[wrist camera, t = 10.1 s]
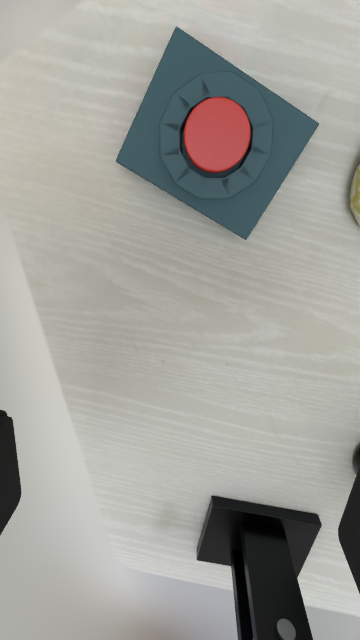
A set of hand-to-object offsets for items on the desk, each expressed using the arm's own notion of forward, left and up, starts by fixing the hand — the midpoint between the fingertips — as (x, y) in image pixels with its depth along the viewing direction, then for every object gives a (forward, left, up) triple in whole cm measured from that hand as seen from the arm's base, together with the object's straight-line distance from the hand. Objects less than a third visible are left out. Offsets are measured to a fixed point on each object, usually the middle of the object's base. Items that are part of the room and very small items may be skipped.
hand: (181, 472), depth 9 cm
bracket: (+19, -20, -19) cm, 33 cm away
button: (-4, +9, -15) cm, 18 cm away
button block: (-4, +9, -19) cm, 21 cm away
